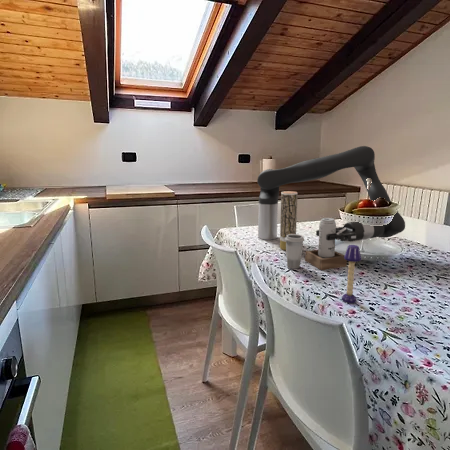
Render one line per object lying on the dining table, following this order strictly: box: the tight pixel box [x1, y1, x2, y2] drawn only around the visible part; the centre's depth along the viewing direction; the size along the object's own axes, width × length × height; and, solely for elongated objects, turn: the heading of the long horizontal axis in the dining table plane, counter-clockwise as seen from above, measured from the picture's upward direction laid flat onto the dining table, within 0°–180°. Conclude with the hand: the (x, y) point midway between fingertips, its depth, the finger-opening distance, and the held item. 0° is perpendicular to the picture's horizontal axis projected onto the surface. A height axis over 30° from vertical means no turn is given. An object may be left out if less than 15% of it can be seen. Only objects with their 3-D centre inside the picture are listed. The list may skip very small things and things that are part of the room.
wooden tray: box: [304, 249, 347, 271], centre depth 132 cm, size 11×11×4 cm
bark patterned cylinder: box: [279, 190, 298, 251], centre depth 148 cm, size 7×7×25 cm
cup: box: [285, 233, 305, 270], centre depth 128 cm, size 7×7×12 cm
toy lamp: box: [341, 244, 362, 304], centre depth 100 cm, size 5×5×17 cm
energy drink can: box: [317, 217, 337, 258], centre depth 130 cm, size 6×6×15 cm
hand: (321, 235), depth 129 cm, fingers closed on energy drink can, 6 cm apart
